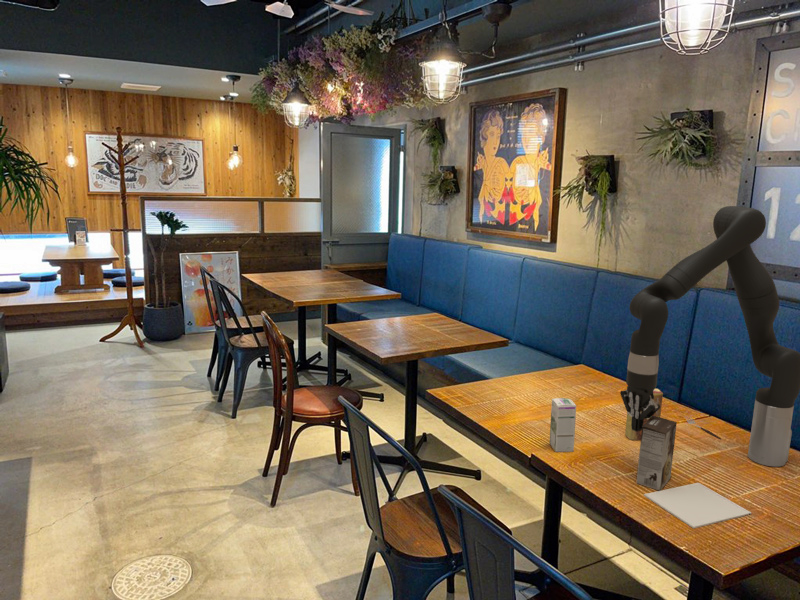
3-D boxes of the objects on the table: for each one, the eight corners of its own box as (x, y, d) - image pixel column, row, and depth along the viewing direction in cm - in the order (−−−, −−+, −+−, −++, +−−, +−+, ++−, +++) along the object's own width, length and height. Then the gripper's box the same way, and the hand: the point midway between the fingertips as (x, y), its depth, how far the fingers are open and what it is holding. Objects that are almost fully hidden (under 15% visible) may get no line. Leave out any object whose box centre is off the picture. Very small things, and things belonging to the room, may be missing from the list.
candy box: (652, 434, 189) (657, 387, 186) (658, 440, 184) (663, 392, 182) (624, 434, 188) (628, 387, 185) (630, 440, 184) (634, 392, 181)
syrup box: (574, 452, 176) (577, 404, 173) (554, 452, 175) (557, 404, 172) (567, 443, 181) (571, 397, 179) (548, 444, 181) (551, 397, 178)
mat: (698, 483, 158) (698, 482, 158) (751, 514, 144) (751, 512, 144) (643, 495, 152) (643, 494, 152) (693, 528, 138) (693, 526, 137)
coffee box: (646, 470, 165) (652, 414, 162) (671, 478, 161) (678, 421, 158) (635, 483, 158) (641, 425, 155) (660, 491, 154) (667, 432, 151)
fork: (717, 441, 186) (718, 435, 185) (683, 421, 201) (683, 415, 200) (724, 440, 186) (725, 434, 186) (689, 420, 201) (690, 415, 201)
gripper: (672, 375, 156) (665, 438, 160) (636, 360, 168) (630, 419, 172) (649, 378, 153) (643, 442, 157) (614, 363, 166) (608, 422, 169)
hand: (636, 430), depth 164 cm, fingers closed
